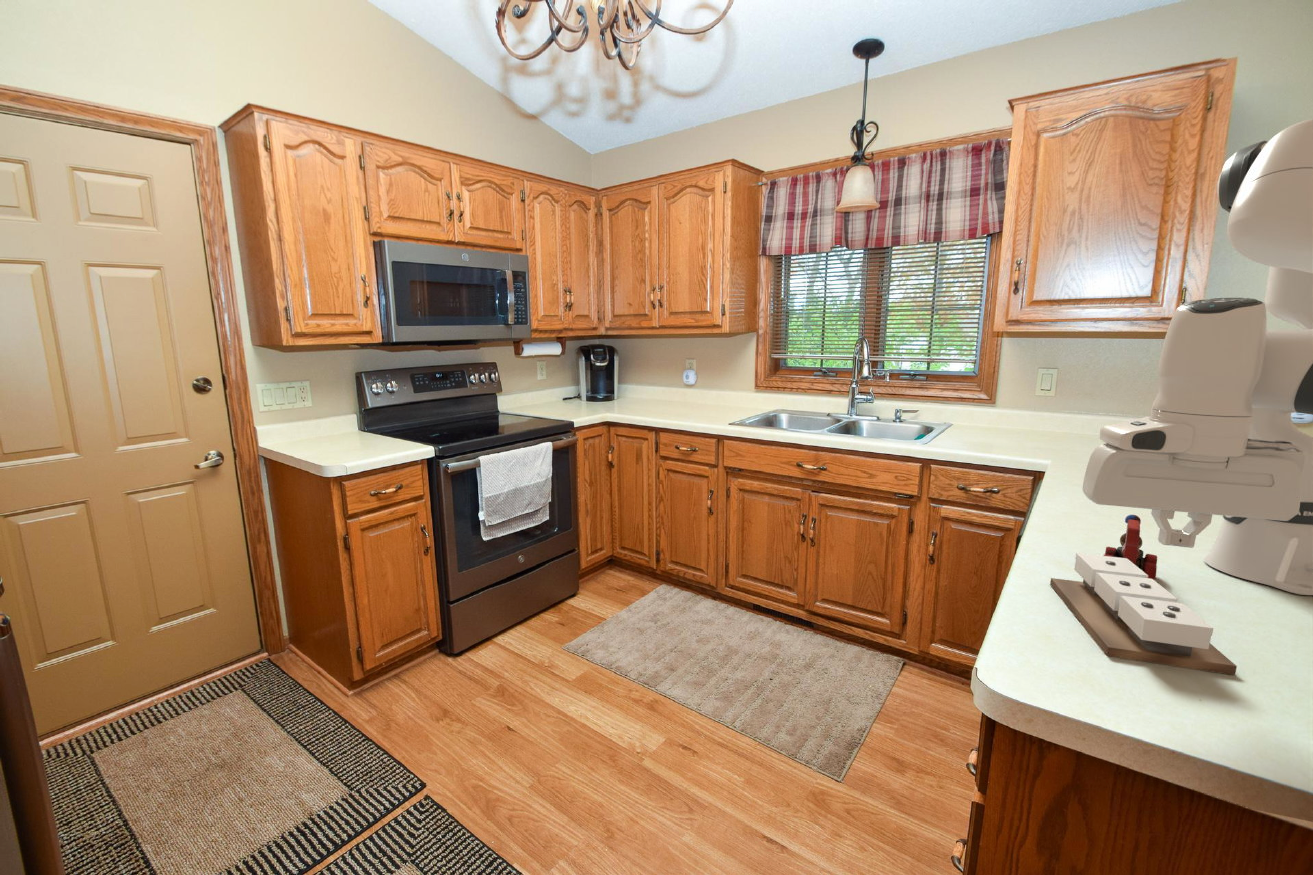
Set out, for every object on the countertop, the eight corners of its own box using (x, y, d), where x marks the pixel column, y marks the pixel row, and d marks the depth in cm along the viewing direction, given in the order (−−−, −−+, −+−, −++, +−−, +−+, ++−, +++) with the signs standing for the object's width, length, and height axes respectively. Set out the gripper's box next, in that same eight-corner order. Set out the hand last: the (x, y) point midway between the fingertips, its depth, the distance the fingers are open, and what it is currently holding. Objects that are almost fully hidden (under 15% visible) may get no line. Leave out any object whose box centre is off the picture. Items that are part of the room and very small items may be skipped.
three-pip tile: (1178, 622, 75) (1182, 601, 74) (1209, 649, 69) (1213, 626, 68) (1117, 614, 77) (1120, 594, 76) (1141, 639, 71) (1144, 617, 70)
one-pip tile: (1124, 574, 90) (1127, 557, 89) (1145, 593, 83) (1148, 574, 83) (1073, 569, 92) (1076, 551, 91) (1090, 586, 86) (1093, 567, 85)
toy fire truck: (1154, 571, 99) (1164, 514, 97) (1153, 595, 89) (1164, 533, 88) (1103, 561, 103) (1112, 506, 101) (1097, 583, 94) (1107, 523, 92)
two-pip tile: (1149, 596, 82) (1152, 577, 82) (1174, 618, 76) (1177, 597, 75) (1093, 589, 84) (1096, 571, 84) (1113, 610, 78) (1116, 590, 78)
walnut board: (1146, 596, 89) (1149, 577, 88) (1234, 675, 68) (1240, 650, 68) (1049, 584, 93) (1052, 566, 92) (1106, 655, 73) (1110, 632, 72)
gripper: (1288, 437, 68) (1264, 547, 70) (1086, 426, 74) (1071, 527, 77) (1329, 446, 62) (1302, 566, 64) (1106, 434, 68) (1089, 543, 71)
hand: (1175, 545), depth 71 cm, fingers closed
